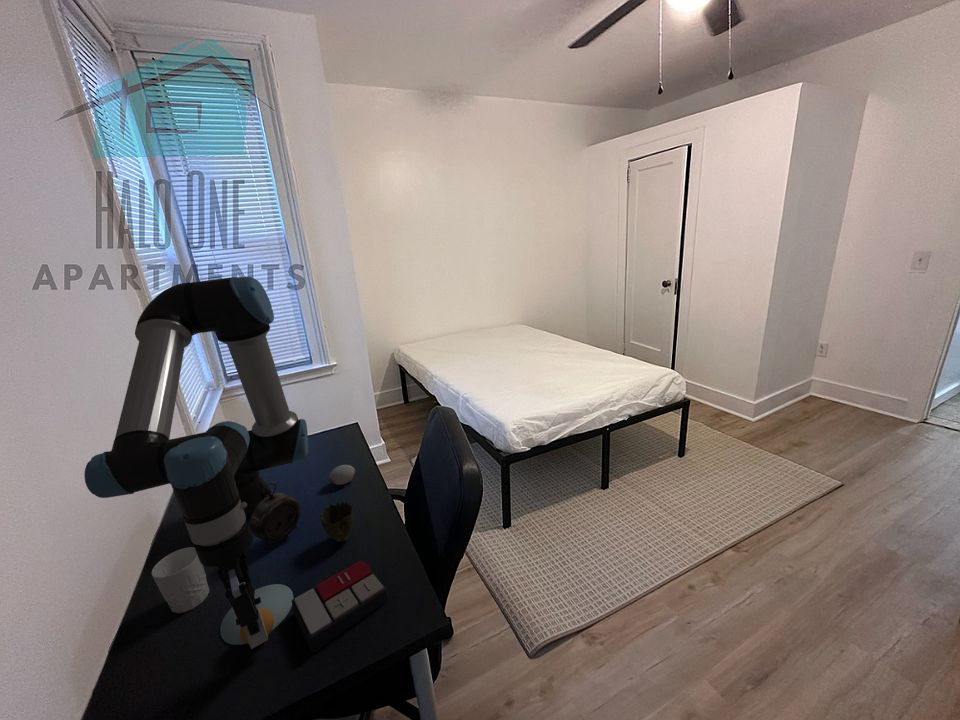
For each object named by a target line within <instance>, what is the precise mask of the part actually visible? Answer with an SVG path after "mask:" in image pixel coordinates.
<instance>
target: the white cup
mask: <svg viewBox="0 0 960 720" xmlns="http://www.w3.org/2000/svg"><path fill="white" fill-rule="evenodd" d="M150 575H151V576H152V578H153V580H154V582H155V584H156V586H157V587H158V589H159V593H161V595H162V597H163V598H164V601H166V603H167V605H168V606H169V608H170V610H171V612H172V613H176V614H182V613H186V612H188V611H191V610H194V609H195V608H197V606H199V605H200V604H202V603H203V602H204V601H205V599H206V598H208V596H209V593H210V588H209V585H208V580H207V578H208V577H207V575H206V571H205V566H204V565H202V564H201V563H200V560H199V558H198V555H197V552H196V550H195V547H192V546H191V547H184V548H181V549H177V550H176V551H173V552H171V553H169V554H167V555H166V556H164V557H162V559H161V560H159V561H158V562H157V563H156V564H155V565H154V566H153V568H152V570H151V574H150Z"/></svg>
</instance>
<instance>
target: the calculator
mask: <svg viewBox="0 0 960 720" xmlns="http://www.w3.org/2000/svg"><path fill="white" fill-rule="evenodd" d="M388 595H389V594H388V589H387V587H386V586H385V585H384V583H383V582H382V581H381V579H380V578H379V577H378V576H377V575H376V573H375V571H373V569H372V568H371V567H370V566H369V564H368V563H367V561H366V560H364V559H362V560H359V561H357V562H356V563H354V564H351V566H348V567H346V568H345V569H343V570H341V571H339V572H337V573H336V574H334V575H332V576H330V577H329V578H327V579H325V580H323V581H321V582H320V583H318V584H317V585H316V586H314V587H312V588H310V589H309V590H307V591H305V592H303V593H302V594H300V595H299V596H296V597H295V598H294V597H293V600H292V610H293V614H294V617H295V620H296V621H297V623H298V626H299V628H300V630H301V633H302V635H303V637H304V639H305V641H306V643H307V645H308V648H309V650H310V652H311V654H314V653H316V652H318V651H319V650H321V649H322V648H323V647H325V646H326V645H327V644H329V643H330V642H332V641H333V640H335V639H336V638H337V637H338V636H339V635H340V634H342V633H343V632H344V631H346V630H347V629H349V628H350V627H352V626H354V625H355V624H357V623H359V621H361V620H363V619H364V618H365V617H367V616H368V615H370V614H371V613H373V612H374V611H375V610H377V609H378V608H379V607H381V606H383V605H384V604H385V603H387V602H388V601H389V596H388Z"/></svg>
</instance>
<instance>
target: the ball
mask: <svg viewBox="0 0 960 720" xmlns="http://www.w3.org/2000/svg"><path fill="white" fill-rule="evenodd" d="M259 611H260V614H261V617H262V620H263V623H264V626H265V629H266V632H267V635H268V636H269V635H270V634H271V633H272V631H273V630H272V628H273V625H274V618H273V615H272V613H271V612H270V611H269V610H268V609H265V608H259ZM240 636H241V638H242V640H243V641H244V642H246V644H249V642H248V639H247V636H246V633H245V630H244V628H243V627H242V628H241V626H240ZM249 645H250V644H249Z"/></svg>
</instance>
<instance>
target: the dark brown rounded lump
mask: <svg viewBox="0 0 960 720" xmlns="http://www.w3.org/2000/svg"><path fill="white" fill-rule="evenodd" d="M323 510H324V512H323V513H320V514H319V520H320V522H321V524H322V527H323V530H324V531H325V533H326V535H327V536H328V537H329V538H331V539H333V540H334V541H335V542H336V543H339V544H341V543H344V542H347V540H348V539H349V538H350V533H351V531H352V529H353V527H354V515H353V512H354V511H353V505H351V503H348V502H347V501H346V502H344V501H342V502H341V503H340V502H336V504H334V503H331V504H330V505H329V506H328V507H324V509H323Z"/></svg>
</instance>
